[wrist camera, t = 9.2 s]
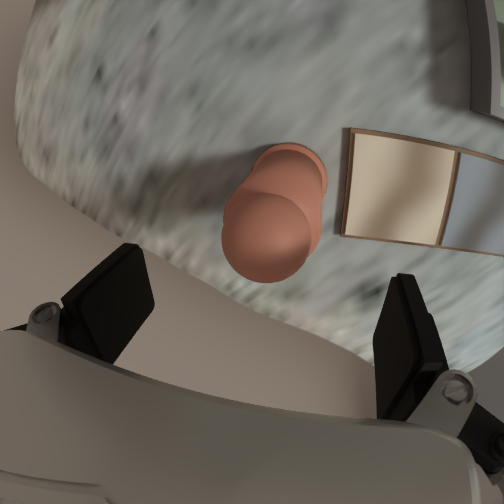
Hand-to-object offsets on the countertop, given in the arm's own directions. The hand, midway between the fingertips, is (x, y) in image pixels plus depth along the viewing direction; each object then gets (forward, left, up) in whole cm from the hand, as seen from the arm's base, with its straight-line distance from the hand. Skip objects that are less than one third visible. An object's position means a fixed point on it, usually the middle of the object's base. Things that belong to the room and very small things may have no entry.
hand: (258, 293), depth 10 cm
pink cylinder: (0, +1, -12) cm, 12 cm away
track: (+16, +1, -12) cm, 20 cm away
